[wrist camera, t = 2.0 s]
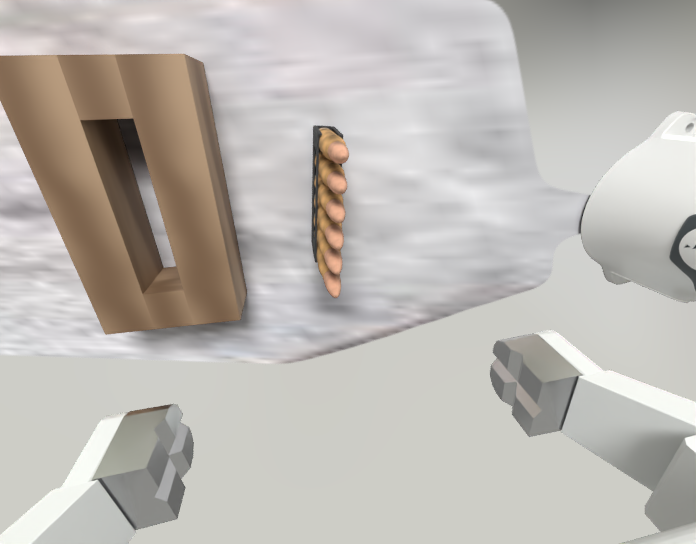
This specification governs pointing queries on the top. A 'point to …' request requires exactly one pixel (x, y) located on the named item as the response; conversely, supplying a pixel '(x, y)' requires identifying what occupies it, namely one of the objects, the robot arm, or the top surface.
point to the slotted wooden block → (131, 182)
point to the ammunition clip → (328, 203)
